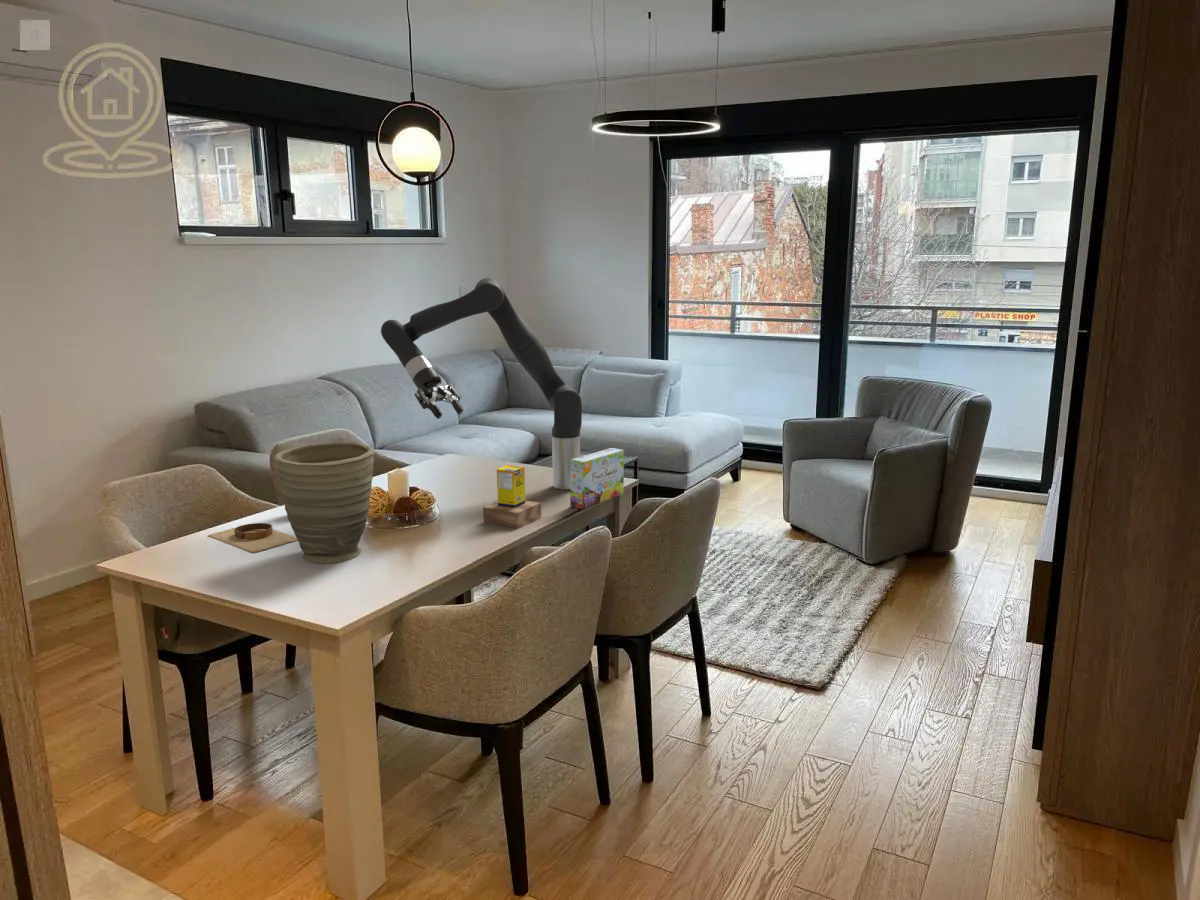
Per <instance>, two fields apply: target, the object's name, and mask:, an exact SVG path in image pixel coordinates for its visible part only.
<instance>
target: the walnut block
mask: <svg viewBox="0 0 1200 900" xmlns="http://www.w3.org/2000/svg"><path fill="white" fill-rule="evenodd" d="M482 512H483V513H482V515H483V516H482V517H483V523H484V524H489V525H496V526H502V527H507V528H511V529H512V528H513V529H520V528H522V527H524V526H526V525H529V524H530V523H533V522H534V521H537V520H538V519H541V518H542V502H539V501H533V500H526V499H525V503H523V504H521V505H519V506H517V507H509V506H501V505H498V501H496V502H493V503H491V504H488V505H486V506H483V507H482Z"/></svg>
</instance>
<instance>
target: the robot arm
mask: <svg viewBox="0 0 1200 900" xmlns="http://www.w3.org/2000/svg"><path fill="white" fill-rule="evenodd" d="M484 313H488V315H490V317H491V318H492V319H493V321H494V322H495V324H496V325H497V327H498V328H499V330H500V333H501V334H502V337H503V339H504V341H505V343H506V344H507V347H508V348H509V350H510V351H511V352H512V354H513V356H514V357H515V359H516V360H517V361H518V363H519V364H520V365H521V366H522V367H523V369H524V371H525V372H527V374H529V376H530V377H531V378H532V379H533V380H534V381H535V383H536V384H537V385H538V387H539V388H540V390H541V391H542V394H543V395H544V397H545V399H546V400H547V402H548V405H549V406H550V408H551V409H552V410H553V416H554V417H553V420H554V421H553V426H552V427H551V447H552V448H551V452H552V456H551V457H552V459H551V460H552V487H553V488H554V489H556V490H557V489H558V490H563V491H564V490H567V491H568V490H570V460H571V459H574V458H578V457H581V429H582V422H583V421H582V418H583V417H582V416H583V415H582V413H583V405H582V403H583V401H582V398H581V395H580V394H579V392H578V391H577V390H575V389H573V388H571V387H570V386H569V385H568V384H567V383H566V382H565V381H564V380H563V379H562V377H561V376H560V375H559V374H558V372H557V371H556V369H555V367H554V365H553V364H552V361H551V359H550V355H549V354H548V352H547V350H546V348H545V347H544V345H543V344H542V342H541V341H540V339H539V338H538V337H537V335H536V334H535V332H534V331H533V330H532V329H531V327H530V326H529V325H528V324H527V322H526V321H525V320H524V319H523V318H522V317H521V316H520V314H519V313H518V312H517V311H516V309H515V307H514V306H513V304H512V302H511V301H510V299H509V297H508V295H507V293H506V292H505V290H504V288H503V285H501V283H500V282H498V281H497V280H495V279H494V278H491V277H486V278H482V279H481V280H479V281H478V282H477V283H476V285H475V287H474V288H473V290H471V291H469V292H468V293H466V294H465V295H463V296H461V297H458V298H455V299H453V300H450V301H447V302H443V303H442V302H441V303H439V304H435V305H433V306H429V307H427V308H425V309H422V310H420V311H417V312H415V313H413V314H412V315H411V316H410V317H409V321H408V322H406V323H405V324H402V323H401V322H400V321H398V320H396V319H388V320H386V321H384V322H383V323H382V324H381V328H380V334H381V337H382V338H383V340H384V342H385V343H386V344H387V345H388V346H389V348H390V349H391V350H392V351H393V353H394V354H395V355H396V356H397V358H398V360H399V362H400V363H401V364H402V366H403V368H404V369H405V371H406V372H407V375H408V376H409V378H410V380H411V381H412V382H413V383H414V385H415V387H416V388H417V390H416V392H415V393H414V397H415V398H416V400H417V401H418V403H419V405H420V406H421V409H423V410H426V409H427V410H429V411H431V413H432V414H433V416H434V418H436V419H440V418H441V417H442V416H443V412H442V411H441V410H440V409H439V407H438V406H437V404H436V403H437V402H444V403H448V404H450V405H451V406H452V408H453V409H454V411H455V412H456V414H457V415H458V416H459V415H461V414H462V413H463V412H464V408H463V406H462V404H461V403H460V402H459V401H460V400H462V396H461V394H460V393H459V391H458V390H457V389H456V387H454V385H453V384H452V383H448V385H444V384H443V383H442V378H441V376H440V375H439V374H438V372H437V370H436V369H435V368H434V366H433V365H432V363H431V362H430V361H429V360H428V359H427V357H426V356H425V355H424V353H423V352H422V350H421V349H420V348H419V347H418V345H417V344H415V342H416V341H417V340H418V339H420V338H421V337H422V336H424V335H427V334H429V333H432V332H434V331H436V330H439V329H441V328H443V327H446V326H447V325H449V324H452V323H455V322H457V321H459V320H462V319H465V318H468V317H471V316H472V317H473V316H474V315H475V316H476V315H479V314H484Z"/></svg>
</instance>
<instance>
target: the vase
mask: <svg viewBox="0 0 1200 900" xmlns="http://www.w3.org/2000/svg"><path fill="white" fill-rule="evenodd" d="M374 453H375V449H374V447H372V446H370V445H368V444H365V443H359V442H353V441H352V442H351V441H350V442H319V443H314V444H307V445H301V446H296V447H292V448H289V449H285V450H282V451H280V452H278V453H277V454H275V455H274V460H275V467H276V471H277V477H278V478H279V482H280V492H281V494H282V497H283V501H284V510H285V512H286V516H287V520H288V522H289V524H290V527H291V530H292V531H293V533H294V535H295V537H297V539H298V541H297V542H298V545H299V546H300V549H301V551H302V553H303V554H302V555H301V558H302V559H303V560H304V561H305V562H307V563H310V564H311V563H312V564H333V563H341V562H345V561H349V560H352V559H355V558H356V557H358V556H359V555H360V554H361V552H362V550H361V549H362V548H360V547H359V543H360V542H361V538H362V535H363V534H364V532H365V529H366V524H367V522H368V517H369V511H370V510H369V509H370V507H371V504H370V498H371V489H372V486H373V485H372V482H373V478H374V477H373V476H374V475H373V472H374V464H375V461H374V460H375V458H374V457H375V455H374Z"/></svg>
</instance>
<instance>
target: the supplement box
mask: <svg viewBox="0 0 1200 900" xmlns="http://www.w3.org/2000/svg"><path fill="white" fill-rule="evenodd" d="M525 473H526V472H525V466H520V465H518V466H517V465H510V464H506V465H504V466H502V467H498V468H497V469H496V483H497V484H496V485H497V487H496V488H497V502H498V505H501V506H509V507H517V506H519V505H521V504H523V503H525V500H526V482H525V481H526V480H525V479H526V475H525Z"/></svg>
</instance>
